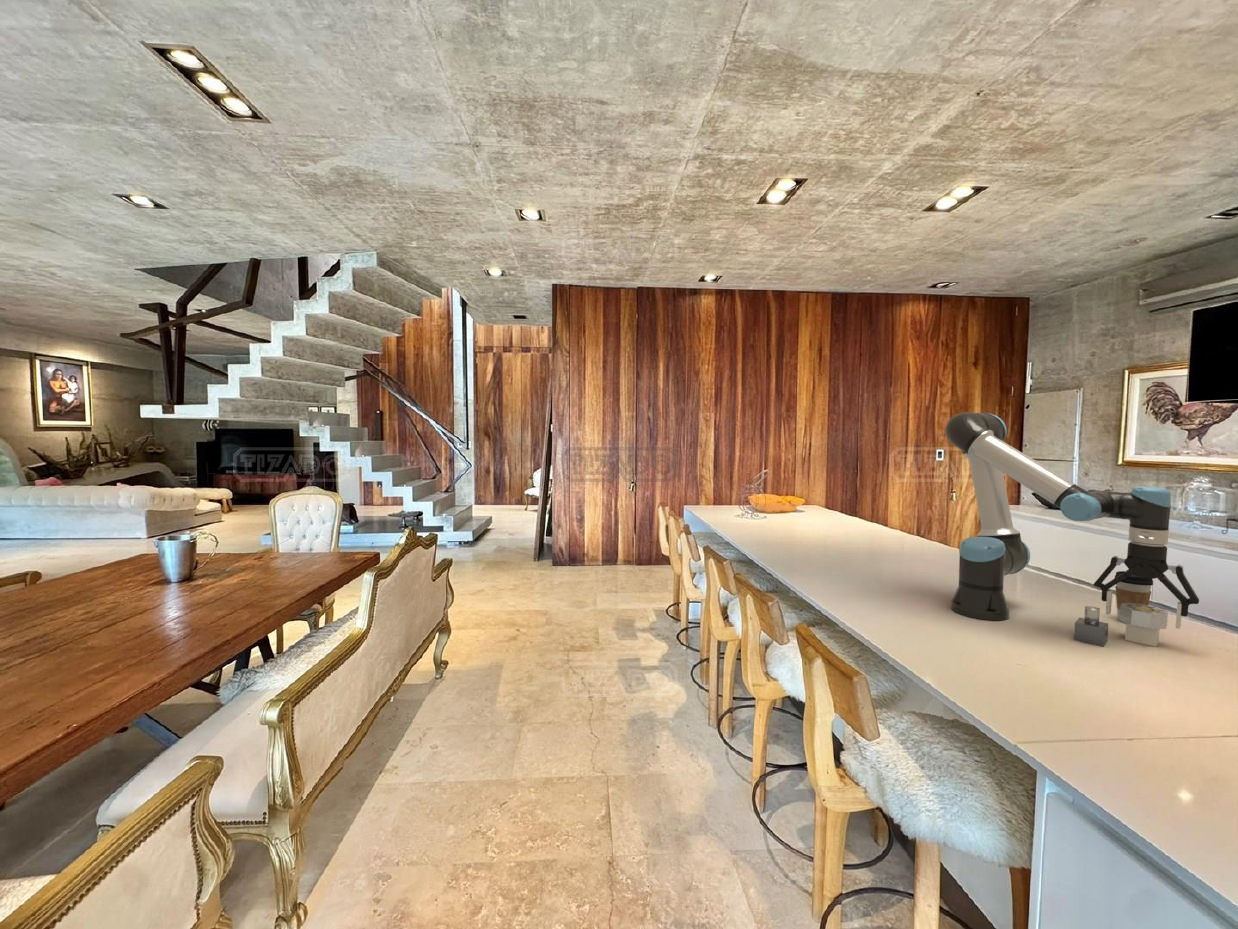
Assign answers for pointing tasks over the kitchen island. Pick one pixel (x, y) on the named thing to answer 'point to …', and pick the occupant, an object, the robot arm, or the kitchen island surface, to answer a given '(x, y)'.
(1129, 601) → the coffee cup
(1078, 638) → the stand
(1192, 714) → the kitchen island surface
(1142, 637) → the hub
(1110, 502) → the robot arm
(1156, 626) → the ring
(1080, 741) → the kitchen island surface
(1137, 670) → the kitchen island surface
